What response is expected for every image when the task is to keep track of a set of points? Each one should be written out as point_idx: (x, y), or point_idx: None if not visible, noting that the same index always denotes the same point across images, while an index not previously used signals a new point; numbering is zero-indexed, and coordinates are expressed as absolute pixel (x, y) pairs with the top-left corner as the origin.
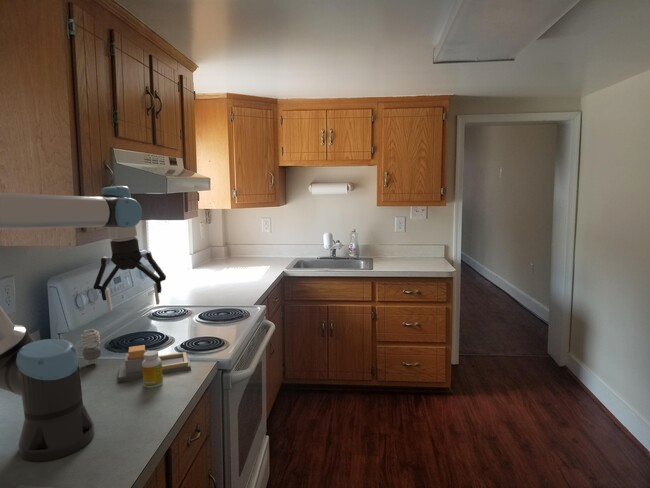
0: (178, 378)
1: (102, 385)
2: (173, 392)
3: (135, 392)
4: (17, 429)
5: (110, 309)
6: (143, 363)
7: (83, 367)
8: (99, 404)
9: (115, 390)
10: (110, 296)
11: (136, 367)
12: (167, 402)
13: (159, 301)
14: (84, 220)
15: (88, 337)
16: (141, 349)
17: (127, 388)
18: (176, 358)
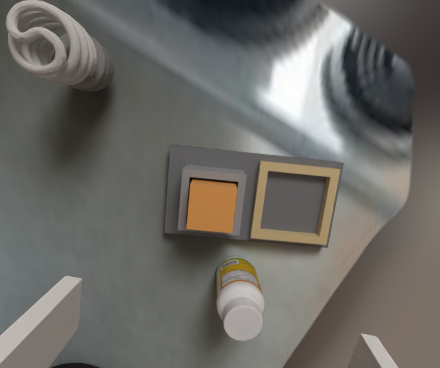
0: (288, 270)
1: (132, 227)
2: (266, 327)
3: (197, 294)
4: None
5: (69, 335)
6: (219, 316)
7: None
8: (131, 312)
9: (160, 266)
10: (12, 356)
11: None
12: (248, 359)
13: (376, 341)
14: None
15: (45, 22)
16: (224, 225)
17: (183, 268)
18: (308, 182)
